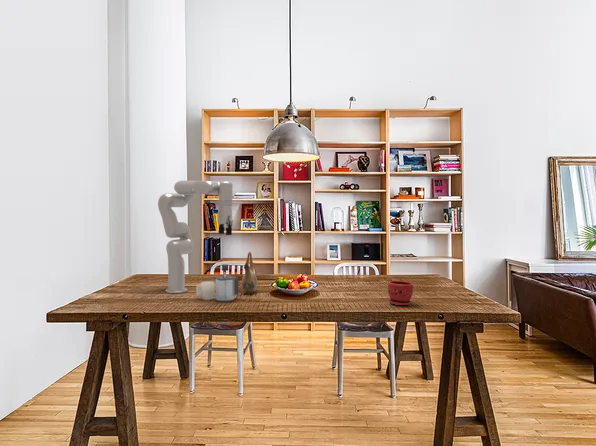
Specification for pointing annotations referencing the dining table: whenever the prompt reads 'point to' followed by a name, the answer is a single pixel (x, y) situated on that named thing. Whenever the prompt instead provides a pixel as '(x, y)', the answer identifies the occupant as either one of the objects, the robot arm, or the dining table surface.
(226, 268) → the plunger
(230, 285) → the press carafe
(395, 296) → the plant pot
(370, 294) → the dining table surface
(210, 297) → the mug
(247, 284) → the ceramic vessel
